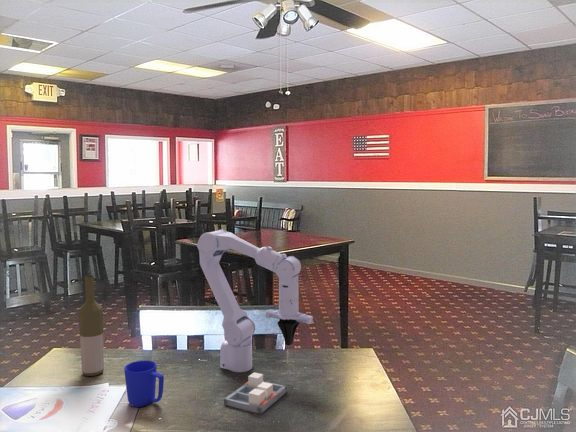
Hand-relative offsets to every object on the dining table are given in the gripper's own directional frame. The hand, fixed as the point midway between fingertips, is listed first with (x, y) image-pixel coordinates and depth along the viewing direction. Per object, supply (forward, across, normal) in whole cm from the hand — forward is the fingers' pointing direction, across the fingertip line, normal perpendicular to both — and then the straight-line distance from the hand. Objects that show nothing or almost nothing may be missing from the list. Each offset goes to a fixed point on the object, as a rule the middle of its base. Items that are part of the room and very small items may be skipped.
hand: (288, 344), depth 146 cm
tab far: (+9, -4, -13) cm, 16 cm away
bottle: (+11, -55, -24) cm, 61 cm away
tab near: (+9, +2, -22) cm, 24 cm away
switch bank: (+10, -1, -17) cm, 20 cm away
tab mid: (+9, +2, -17) cm, 20 cm away
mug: (+11, -26, -32) cm, 42 cm away
